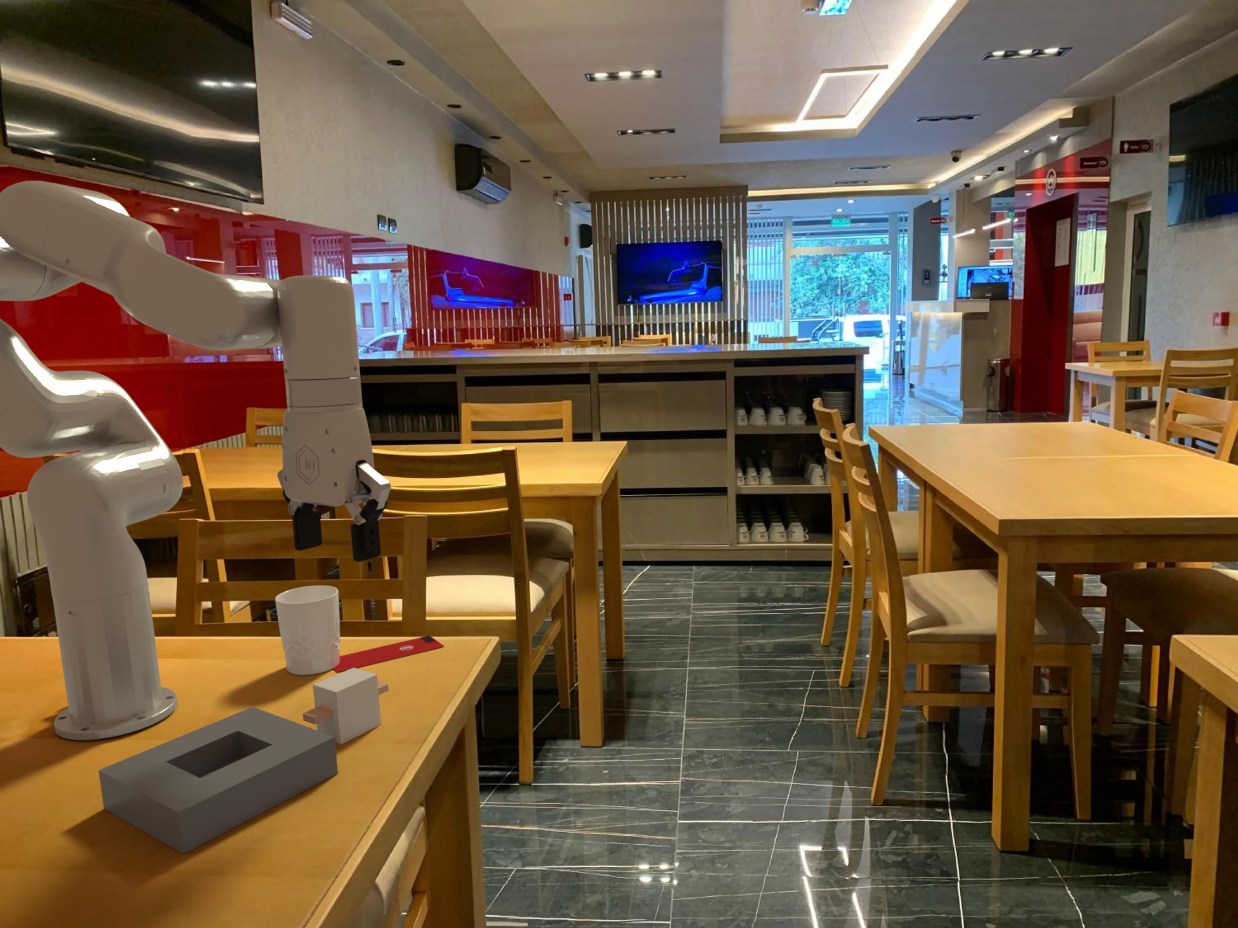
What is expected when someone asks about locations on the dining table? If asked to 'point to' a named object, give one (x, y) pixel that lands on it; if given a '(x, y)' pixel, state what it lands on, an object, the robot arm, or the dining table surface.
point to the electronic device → (387, 653)
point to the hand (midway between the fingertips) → (337, 553)
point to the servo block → (347, 704)
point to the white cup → (309, 628)
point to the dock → (217, 777)
